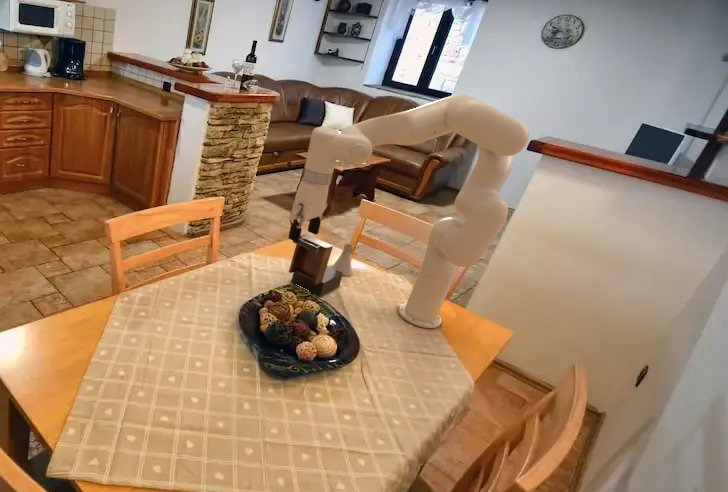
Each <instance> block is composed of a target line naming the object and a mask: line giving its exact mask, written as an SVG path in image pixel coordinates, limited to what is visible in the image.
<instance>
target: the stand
mask: <svg viewBox="0 0 728 492" xmlns="http://www.w3.org/2000/svg"><path fill="white" fill-rule="evenodd" d="M343 276H344V275H343V273H342V272H339V271H337V270H335V269H333V268H332V266H328V265H327V267H326V270H325V274H324V277H323V280H322V282H321V283H319V284H316V285H314V284H313V281H312V280H310V279H308V278H306V277H304V276H302V275H299V274H297V273H295V272H293V273H292V277H291V281H290V283H291V284H293V285H295V284H297V285H299V286H301V287H303V288H305V289H307V290H309V291H311V292H312V293H311V292H310V293H311V294H313V293H314V294H313V295H314V296H317V297H318V298H321V297H323V296H324V295H326V294H328V293H330V292H332V291H334V290H336V289H338V288H339V287H340V284H341V282H342V279H343ZM309 291H308V292H309Z"/></svg>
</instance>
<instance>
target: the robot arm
mask: <svg viewBox="0 0 728 492" xmlns="http://www.w3.org/2000/svg"><path fill="white" fill-rule="evenodd" d="M451 133H455V134H457V135H459V136H461V137H463V138H465V139H467V140H468V141H470V142H472V143H474V144H476V145H477V148H478V155H477V160H476V163H475V164H474V167H473V168H472V171H471V173H470V174H469V176H468V177H467V179H466V180H465V182H464V184H463V185H462V187H461V189H460V190H459V192H458V194H457V195H456V197H455V200H454V202H453V203H454V209H455V211H456V212H457V214H458V215H460V217H462V218H463V219H464V222H463V221H462V220H461V219H459V218H456V217H451V216H450V217H444V218H442V219H440V220H438V221H436V223H435V224H434V225H433V226H432V228H431V230H430V233H429V236H428V240H427V246H426V250H425V254H424V257H423V260H422V262H421V265H420V267H419V270H418V273H417V275H416V277H415V281H414V283H413V287H412V289H411V291H410V294H409V295H408V298H407V302H406V303H402V304H400V305H399V308H398V314H399V315H400V316H401V317H402V318H403V319H404V320H405V321H407V322H408V323H410V324H412V325H414V326H418V327H420V328H425V329H436V328H438V327H440V326H441V325H442V321H443V319H442V318H441V316H440V315H439V314H440V312H441V310H442V308H443V306H444V303H445V301H446V298H447V295H448V293H449V291H450V288H451V286H452V284H453V282H454V279H455V277H456V274H457V272H458V269H459V268H467V267H470V266H473V265H475V264H476V263H477V262H479V261H480V259H482V257H483V256H484V255H485V254H486V252H487V250H488V249H489V248H490V246H491V245H492V243H493V242H494V240H495V239H496V238H497V236H498V235H499V233H500V232H501V230H502V228H503V226H504V225H505V223H506V221H507V218H508V215H509V207H508V203H507V201H506V200H505V198H503V197H502V196H501V195H500V191H501V190H502V188H503V187H504V185H505V183H506V181H507V179H508V177H509V176H510V174H511V171H512V169H513V165H514V157H515V155H517V154H518V153H520V152H522V151H523V150H524V149H525V147H526V146H527V144H528V142H529V139H530V131H529V128H528V126H527V125H526V124H525V123H524V122H523V121H521V120H519V119H517V118H515V117H513V116H511V115H509V114H508V113H505V112H503V111H501V110H499V109H497V108H496V107H493V106H492V105H490V104H489V103H486V102H484V101H482V100H481V99H478V98H476V97H473V96H470V95H467V94H460V93H459V94H453V95H449V96H447V97H444V98H440V99H437V100H436V101H435V100H434V101H432V102H430V103H427V104H423V105H421V106H420V105H419V106H418V107H416V108H412V109H409V110H405V111H401V112H395V113H392V114H387V115H381V116H377V117H372V118H368V119H366V120H363V121H360V122H357V123H354V124H351V125H348V126H346V127H344V128H342V129H341V130H338V129H335V128H333V127H332V128H331V127H327V126H318V127H314V129H313V130H312V131H311V135H310V139H309V140H310V141H309V144H308V150H307V154H306V157H305V158H306V159H305V163H304V168H303V173H302V176H301V181H300V183H299V185H298V187H297V191H296V194H295V197H294V199H293V204H292V208H291V211H290V213H289V226H290V227H289V232H288V239H289V240H291V241H292V242H293V241H295V242H299V239H300V236H301V235H302V230H303V228H302V226H303V225H304V223H305V221H306V222H307V221H309V223H308V227H307V232H309V233H311V234H313V235H318V234H319V231H320V227H321V223H322V221H323V217H324V215H325V214H326V210H327V207H328V204H329V203H328V202H327V200H328V195H329V190H330V189H329V188H330V185H331V183H332V179H333V173H334V171H335V166H336V161H338V162H342V163H345V164H348V165H353V166H360V165H363V164H365V163H367V162H368V161H369V160H370V159H371V157H372V154H373V148H374V147H377V146H382V145H384V146H385V145H399V146H415V145H418V144H421V143H424V142H427V141H431V140H433V139H437V138H438V137H441V136H446V135H448V134H451Z"/></svg>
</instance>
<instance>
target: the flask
mask: <svg viewBox="0 0 728 492" xmlns="http://www.w3.org/2000/svg"><path fill="white" fill-rule="evenodd" d="M353 249H354V245H353V244H351V243H348V242H347V243H345V242H344V245H343V250H342V252H341V254H340V256H339V257H338V258H337V259H336V261H335V262H334V263H333V265H332V266H331V268H333V269H335V270H337V271H339V272H342V273H343V275H342V276H351V274H352V272H353V271H352V258H351V256H352V250H353Z"/></svg>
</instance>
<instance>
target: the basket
mask: <svg viewBox="0 0 728 492" xmlns="http://www.w3.org/2000/svg"><path fill="white" fill-rule="evenodd" d="M292 243H294V244H295V249H294V251H293V254H292V258H291V262H290V266H289V269H288V273H290V274H293V272H295V273H297V274H299V275H302V276H304V277H306V278H308V279H310V280H312V281H313V284H314V285H316V284H319V283H321V282H322V280H323V277H324V274H325V270H326V267H327V266H328V264H329V261H330V257H331V254H332V252H333V248H334V245H332V244H330V243H329V242H325V241H323V240H320V239H319V238H316V237H314V236H312V235H309V234H307V233H305V234H301V235H300V239H299V242H295V241H293V240H292Z"/></svg>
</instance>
